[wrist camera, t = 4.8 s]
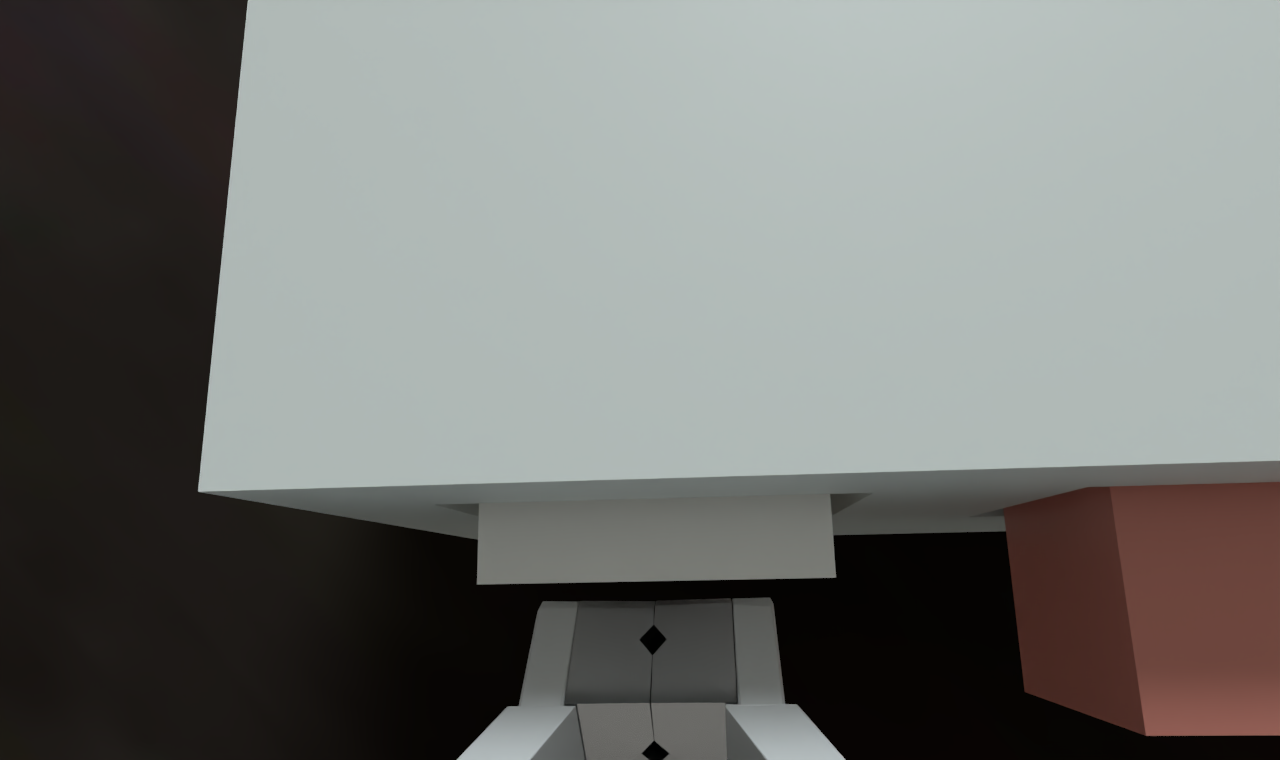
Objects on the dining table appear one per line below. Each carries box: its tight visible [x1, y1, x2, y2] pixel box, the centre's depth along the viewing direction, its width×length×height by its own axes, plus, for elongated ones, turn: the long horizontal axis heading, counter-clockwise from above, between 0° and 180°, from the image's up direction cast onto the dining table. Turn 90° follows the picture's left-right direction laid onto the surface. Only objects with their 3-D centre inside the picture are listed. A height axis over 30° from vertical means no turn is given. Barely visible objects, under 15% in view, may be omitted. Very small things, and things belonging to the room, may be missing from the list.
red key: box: [1003, 482, 1280, 736], centre depth 11 cm, size 4×3×4 cm
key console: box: [198, 0, 1280, 540], centre depth 13 cm, size 22×10×11 cm, turn 91°
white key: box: [477, 494, 836, 585], centre depth 11 cm, size 4×3×4 cm
